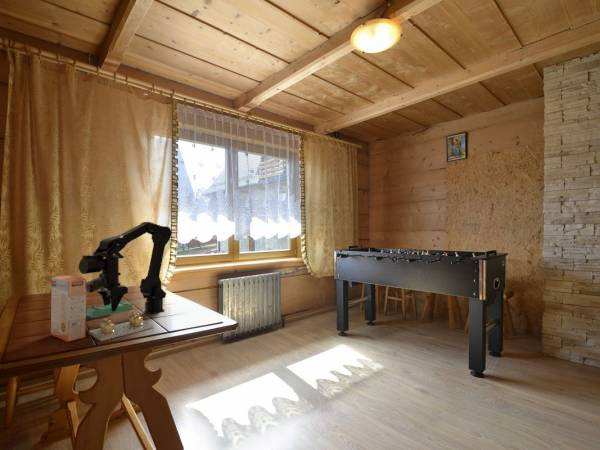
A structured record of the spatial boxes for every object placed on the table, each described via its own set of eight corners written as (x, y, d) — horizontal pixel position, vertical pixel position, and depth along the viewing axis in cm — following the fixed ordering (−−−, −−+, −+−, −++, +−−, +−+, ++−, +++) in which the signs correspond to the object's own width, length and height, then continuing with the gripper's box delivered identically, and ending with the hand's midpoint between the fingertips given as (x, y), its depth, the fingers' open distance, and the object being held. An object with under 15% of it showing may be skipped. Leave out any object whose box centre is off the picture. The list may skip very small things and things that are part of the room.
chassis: (139, 321, 125) (139, 308, 125) (153, 327, 118) (153, 313, 118) (88, 333, 111) (88, 318, 111) (100, 341, 104) (100, 325, 104)
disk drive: (71, 316, 135) (83, 322, 126) (71, 310, 135) (83, 315, 126) (97, 311, 143) (111, 316, 134) (97, 305, 143) (111, 310, 134)
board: (125, 307, 129) (125, 301, 129) (132, 310, 125) (132, 303, 125) (86, 314, 118) (86, 308, 118) (92, 318, 114) (92, 311, 114)
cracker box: (87, 337, 107) (87, 278, 107) (66, 343, 102) (66, 280, 102) (70, 330, 115) (70, 274, 115) (50, 335, 110) (50, 276, 110)
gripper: (78, 270, 121) (78, 310, 121) (95, 275, 109) (95, 319, 109) (109, 267, 130) (109, 304, 129) (128, 271, 118) (128, 312, 118)
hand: (110, 309), depth 121 cm, fingers closed on board, 6 cm apart
